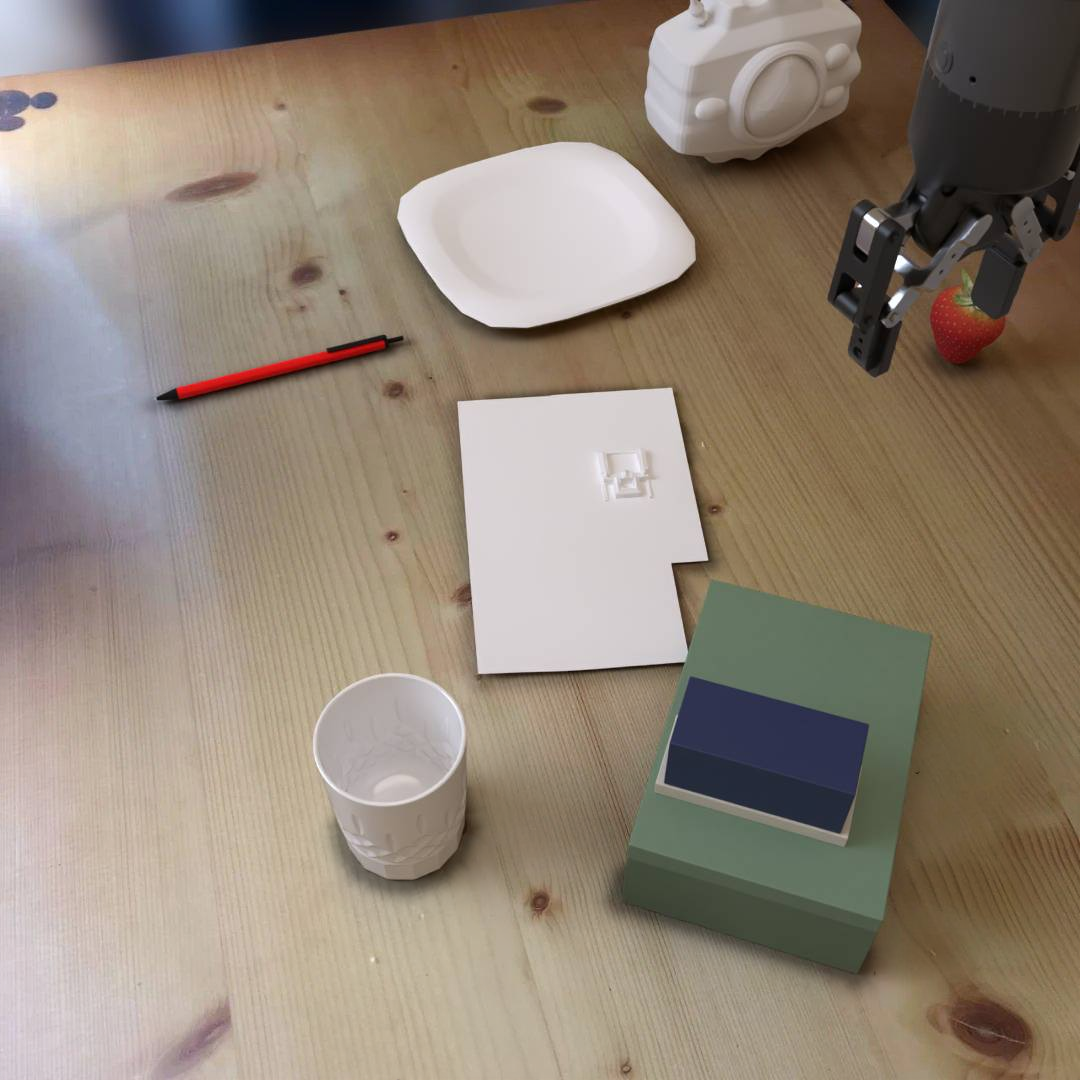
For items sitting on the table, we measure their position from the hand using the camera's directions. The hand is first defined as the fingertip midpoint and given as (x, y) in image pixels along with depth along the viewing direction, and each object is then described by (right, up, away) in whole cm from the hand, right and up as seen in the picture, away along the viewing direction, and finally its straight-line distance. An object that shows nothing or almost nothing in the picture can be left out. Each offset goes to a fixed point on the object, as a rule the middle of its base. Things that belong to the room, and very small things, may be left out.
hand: (929, 337), depth 69 cm
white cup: (-28, -27, +5) cm, 40 cm away
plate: (-20, +14, +39) cm, 46 cm away
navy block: (-9, -24, -1) cm, 25 cm away
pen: (-40, +2, +29) cm, 50 cm away
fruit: (+11, +3, +30) cm, 32 cm away
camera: (-2, +24, +47) cm, 53 cm away
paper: (-18, -10, +20) cm, 28 cm away
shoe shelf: (-7, -26, +7) cm, 27 cm away
